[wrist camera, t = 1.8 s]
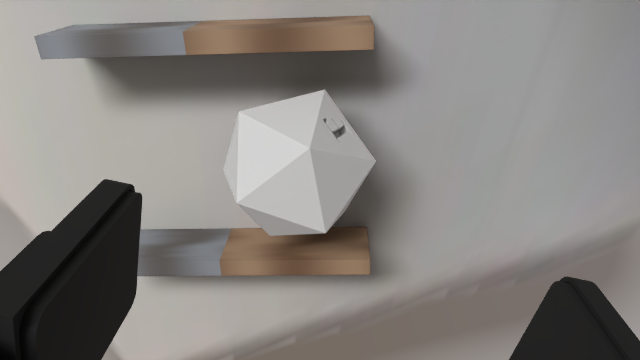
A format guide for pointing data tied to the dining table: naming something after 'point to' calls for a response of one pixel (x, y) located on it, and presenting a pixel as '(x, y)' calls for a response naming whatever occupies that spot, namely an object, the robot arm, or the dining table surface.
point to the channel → (229, 244)
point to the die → (296, 164)
